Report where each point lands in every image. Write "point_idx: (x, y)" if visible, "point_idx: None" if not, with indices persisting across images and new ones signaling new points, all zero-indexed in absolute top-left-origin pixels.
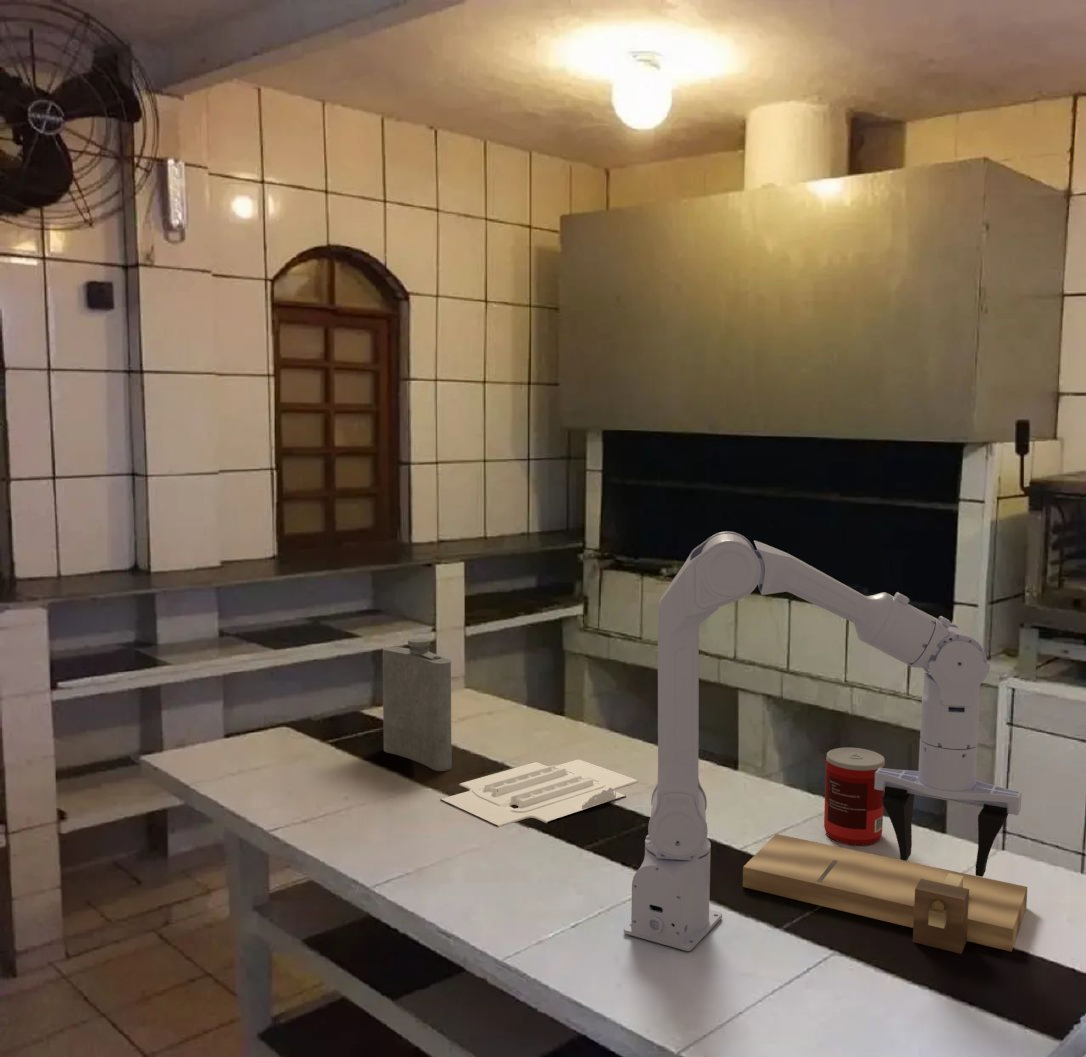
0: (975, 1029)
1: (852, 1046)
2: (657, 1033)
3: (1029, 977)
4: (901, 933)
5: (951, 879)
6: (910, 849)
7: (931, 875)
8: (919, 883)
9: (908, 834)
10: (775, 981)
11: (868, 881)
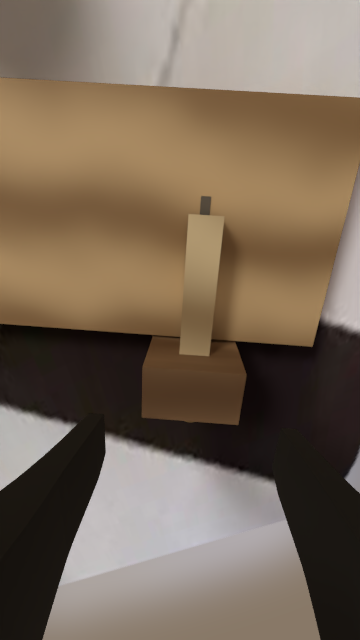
0: (247, 506)
1: (145, 558)
2: None
3: (315, 390)
4: (136, 343)
5: (198, 252)
6: (99, 433)
7: (144, 153)
8: (144, 391)
9: (76, 493)
10: None
11: (35, 262)
